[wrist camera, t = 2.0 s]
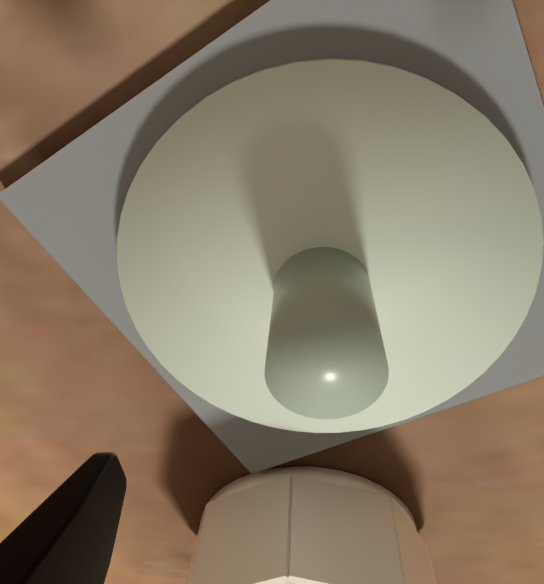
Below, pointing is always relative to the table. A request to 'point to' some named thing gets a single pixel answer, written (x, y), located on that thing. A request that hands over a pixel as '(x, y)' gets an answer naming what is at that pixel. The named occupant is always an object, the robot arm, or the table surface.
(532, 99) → the mat
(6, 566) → the robot arm
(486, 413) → the table surface
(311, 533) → the bowl
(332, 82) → the lid
